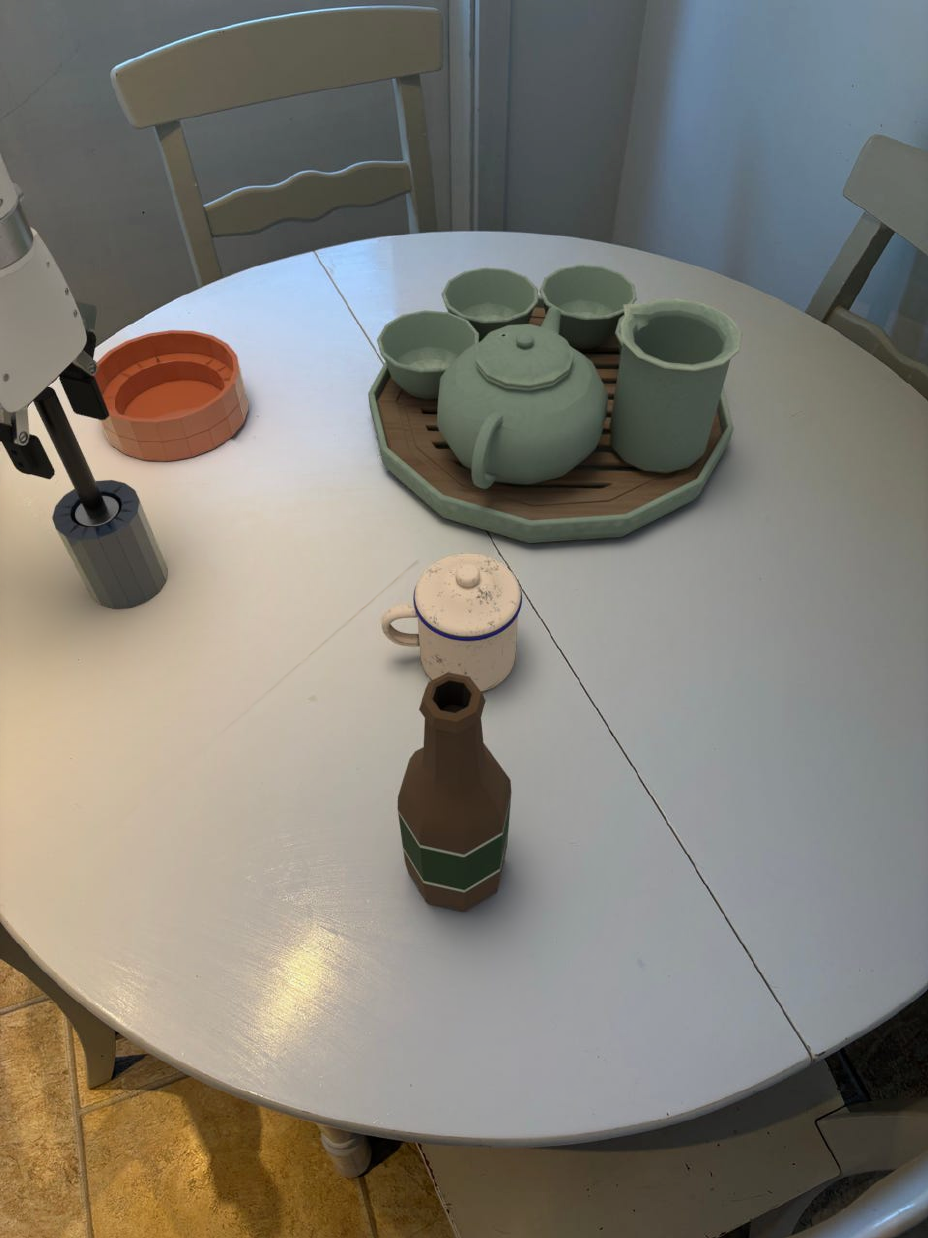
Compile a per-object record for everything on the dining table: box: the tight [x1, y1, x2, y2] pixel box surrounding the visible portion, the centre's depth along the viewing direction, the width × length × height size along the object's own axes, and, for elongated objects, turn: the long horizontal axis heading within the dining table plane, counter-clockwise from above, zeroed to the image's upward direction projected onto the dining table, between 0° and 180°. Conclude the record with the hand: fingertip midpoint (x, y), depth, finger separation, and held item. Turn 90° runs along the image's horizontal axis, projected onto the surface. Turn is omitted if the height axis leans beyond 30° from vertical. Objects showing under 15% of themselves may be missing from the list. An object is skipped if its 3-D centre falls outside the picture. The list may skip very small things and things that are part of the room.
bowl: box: [93, 329, 250, 462], centre depth 99 cm, size 16×16×6 cm
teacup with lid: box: [380, 553, 523, 692], centre depth 76 cm, size 12×9×12 cm
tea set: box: [367, 264, 743, 544], centre depth 95 cm, size 40×40×16 cm
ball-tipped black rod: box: [32, 386, 121, 527], centre depth 77 cm, size 4×4×22 cm
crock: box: [51, 479, 169, 610], centre depth 82 cm, size 7×7×10 cm
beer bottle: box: [397, 672, 513, 912], centre depth 59 cm, size 8×8×24 cm
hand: (65, 441), depth 72 cm, fingers open, 6 cm apart
